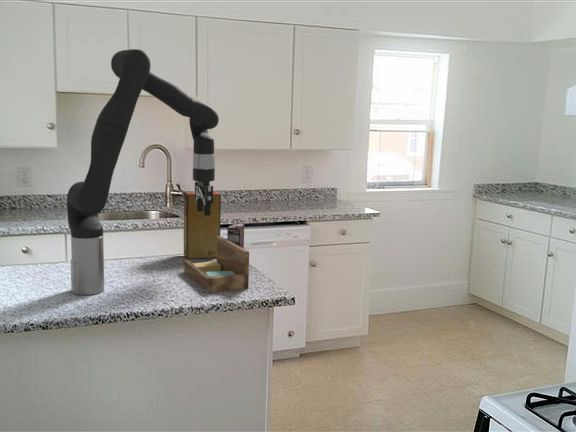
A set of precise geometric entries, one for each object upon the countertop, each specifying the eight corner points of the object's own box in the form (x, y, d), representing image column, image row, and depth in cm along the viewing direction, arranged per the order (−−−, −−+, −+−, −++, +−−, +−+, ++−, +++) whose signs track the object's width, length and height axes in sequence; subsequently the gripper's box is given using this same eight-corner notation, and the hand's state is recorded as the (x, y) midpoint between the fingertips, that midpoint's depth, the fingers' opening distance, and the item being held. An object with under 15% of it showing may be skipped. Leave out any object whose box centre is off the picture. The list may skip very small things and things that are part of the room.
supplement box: (231, 265, 215) (231, 223, 212) (244, 266, 214) (245, 223, 212) (226, 271, 206) (226, 227, 204) (239, 272, 206) (240, 228, 203)
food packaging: (215, 252, 235) (216, 190, 230) (220, 257, 226) (221, 193, 222) (182, 253, 230) (183, 190, 226) (186, 259, 222) (186, 194, 217)
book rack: (208, 292, 181) (209, 254, 179) (184, 271, 204) (184, 238, 202) (248, 288, 187) (249, 251, 185) (220, 268, 210) (220, 235, 208)
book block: (207, 288, 186) (208, 276, 185) (205, 283, 191) (205, 271, 190) (235, 287, 189) (236, 275, 188) (232, 282, 194) (232, 270, 193)
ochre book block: (195, 277, 199) (195, 267, 198) (190, 273, 203) (190, 263, 203) (220, 274, 203) (220, 265, 202) (215, 270, 208) (215, 261, 207)
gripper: (187, 165, 205) (187, 210, 208) (199, 169, 193) (198, 217, 195) (208, 165, 209) (207, 209, 211) (220, 168, 196) (220, 216, 199)
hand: (203, 213), depth 203 cm, fingers open, 8 cm apart
